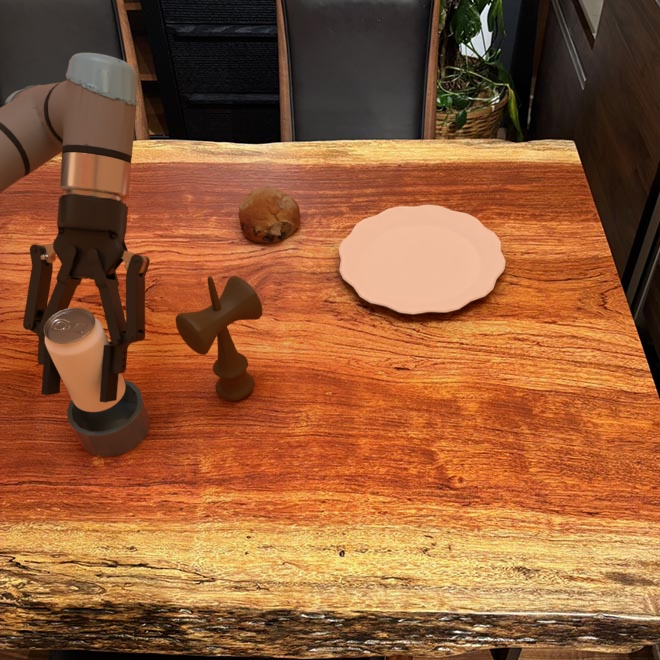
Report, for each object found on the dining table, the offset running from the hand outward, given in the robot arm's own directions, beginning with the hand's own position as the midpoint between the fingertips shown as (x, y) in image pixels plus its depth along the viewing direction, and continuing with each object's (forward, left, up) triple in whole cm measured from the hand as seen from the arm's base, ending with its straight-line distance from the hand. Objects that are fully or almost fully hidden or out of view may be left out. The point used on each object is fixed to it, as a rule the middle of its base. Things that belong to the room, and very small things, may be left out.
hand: (79, 397), depth 93 cm
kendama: (+10, +15, -11) cm, 21 cm away
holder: (-1, +3, -10) cm, 11 cm away
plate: (+23, +48, -11) cm, 55 cm away
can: (-1, +3, -4) cm, 5 cm away
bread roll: (-3, +47, -11) cm, 49 cm away
